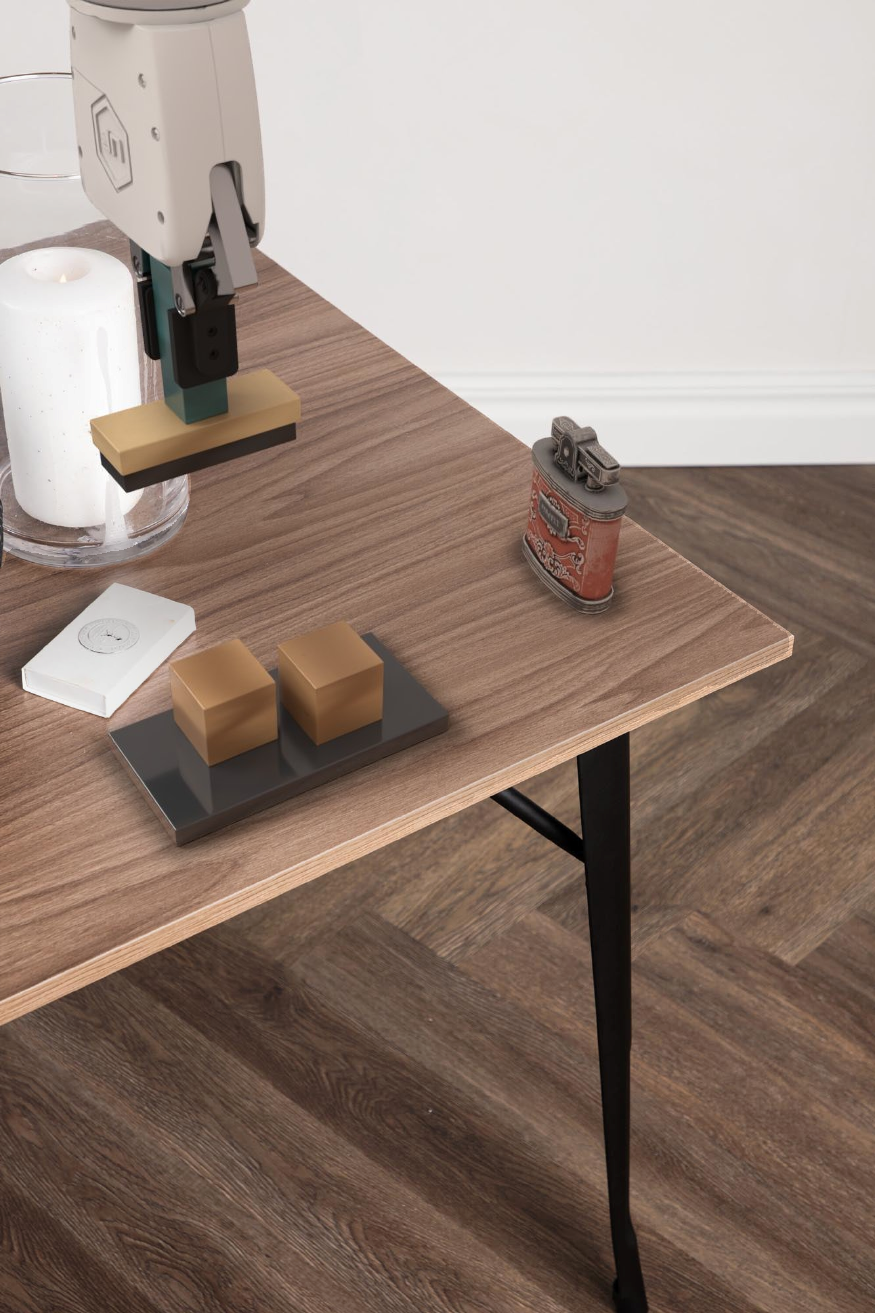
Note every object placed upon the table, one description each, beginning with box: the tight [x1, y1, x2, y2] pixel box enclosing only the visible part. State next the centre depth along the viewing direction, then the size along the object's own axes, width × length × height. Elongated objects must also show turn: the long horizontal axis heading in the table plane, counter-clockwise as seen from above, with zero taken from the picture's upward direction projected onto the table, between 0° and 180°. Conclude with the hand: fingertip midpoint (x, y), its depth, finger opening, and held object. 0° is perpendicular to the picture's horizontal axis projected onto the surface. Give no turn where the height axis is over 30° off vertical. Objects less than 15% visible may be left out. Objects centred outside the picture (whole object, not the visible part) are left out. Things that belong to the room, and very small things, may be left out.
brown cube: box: [276, 619, 384, 746], centre depth 74 cm, size 4×4×4 cm
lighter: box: [521, 415, 629, 615], centre depth 84 cm, size 8×3×10 cm, turn 27°
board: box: [107, 631, 450, 847], centre depth 75 cm, size 16×8×1 cm, turn 124°
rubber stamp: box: [89, 255, 302, 494], centre depth 69 cm, size 10×4×11 cm, turn 124°
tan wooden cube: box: [168, 637, 278, 767], centre depth 72 cm, size 4×4×4 cm
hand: (191, 362), depth 69 cm, fingers closed on rubber stamp, 2 cm apart
